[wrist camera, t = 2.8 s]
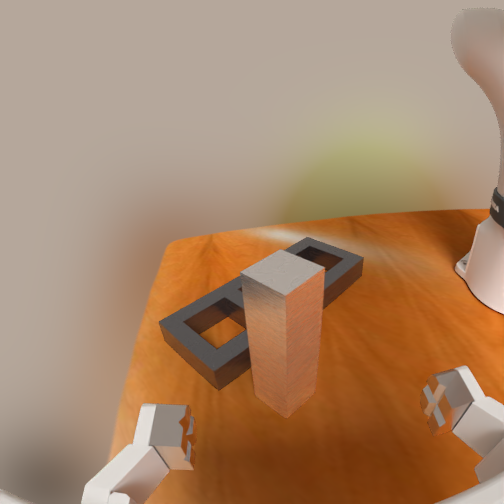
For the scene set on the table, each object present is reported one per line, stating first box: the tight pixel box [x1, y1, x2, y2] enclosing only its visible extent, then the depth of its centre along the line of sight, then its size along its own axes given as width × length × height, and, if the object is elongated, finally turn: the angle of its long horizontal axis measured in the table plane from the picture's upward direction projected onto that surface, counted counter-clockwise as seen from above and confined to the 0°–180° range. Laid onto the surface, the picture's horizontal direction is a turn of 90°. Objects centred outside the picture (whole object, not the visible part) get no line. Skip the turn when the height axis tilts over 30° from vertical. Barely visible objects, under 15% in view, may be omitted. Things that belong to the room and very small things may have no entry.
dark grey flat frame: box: [159, 237, 364, 390], centre depth 39 cm, size 26×10×3 cm, turn 134°
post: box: [240, 249, 325, 419], centre depth 25 cm, size 4×4×14 cm
